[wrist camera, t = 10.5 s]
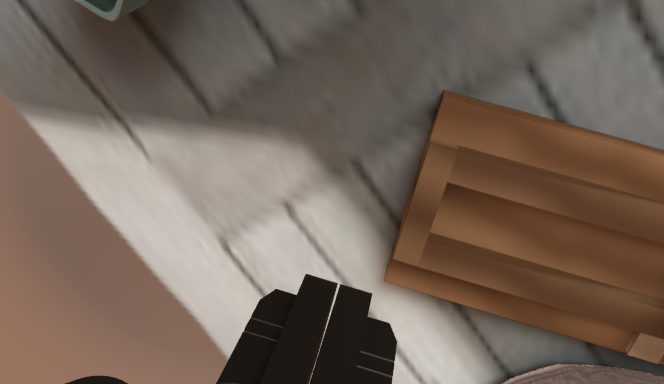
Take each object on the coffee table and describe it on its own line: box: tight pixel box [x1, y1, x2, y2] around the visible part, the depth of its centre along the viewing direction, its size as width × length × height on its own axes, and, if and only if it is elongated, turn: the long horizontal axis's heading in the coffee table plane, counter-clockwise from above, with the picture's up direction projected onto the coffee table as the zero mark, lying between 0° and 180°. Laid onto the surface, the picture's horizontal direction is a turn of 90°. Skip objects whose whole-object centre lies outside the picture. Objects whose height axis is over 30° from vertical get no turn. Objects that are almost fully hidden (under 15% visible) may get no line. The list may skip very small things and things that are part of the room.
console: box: [384, 90, 664, 365], centre depth 43 cm, size 16×28×4 cm, turn 77°
